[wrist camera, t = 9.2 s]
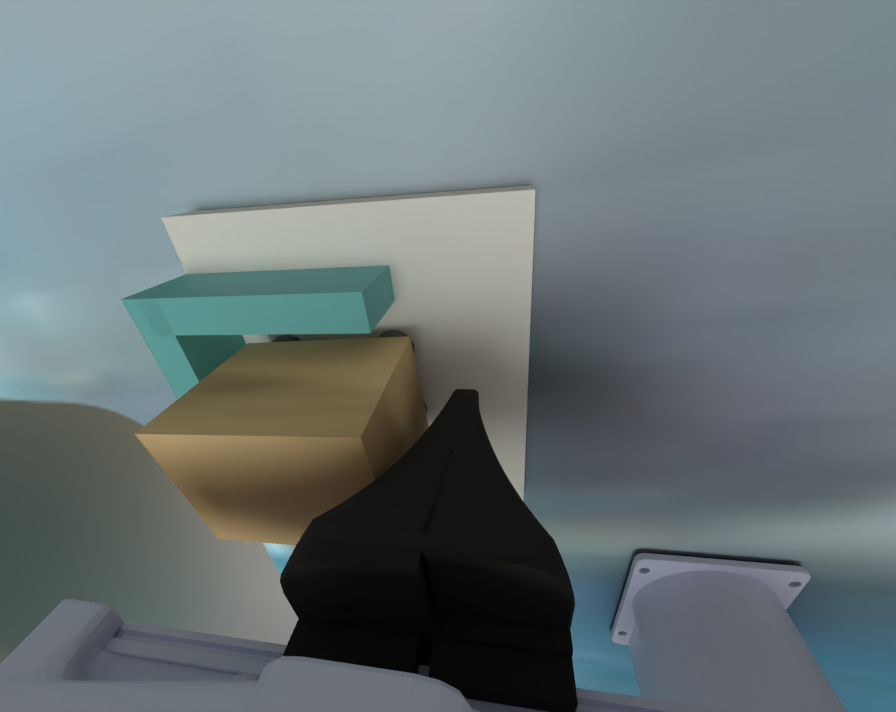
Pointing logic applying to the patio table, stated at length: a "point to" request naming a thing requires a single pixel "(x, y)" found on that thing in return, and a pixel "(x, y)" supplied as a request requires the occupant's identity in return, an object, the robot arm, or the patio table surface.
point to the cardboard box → (289, 431)
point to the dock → (362, 292)
